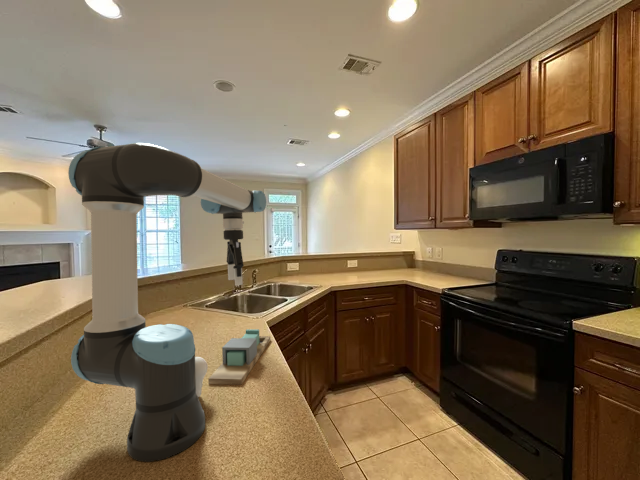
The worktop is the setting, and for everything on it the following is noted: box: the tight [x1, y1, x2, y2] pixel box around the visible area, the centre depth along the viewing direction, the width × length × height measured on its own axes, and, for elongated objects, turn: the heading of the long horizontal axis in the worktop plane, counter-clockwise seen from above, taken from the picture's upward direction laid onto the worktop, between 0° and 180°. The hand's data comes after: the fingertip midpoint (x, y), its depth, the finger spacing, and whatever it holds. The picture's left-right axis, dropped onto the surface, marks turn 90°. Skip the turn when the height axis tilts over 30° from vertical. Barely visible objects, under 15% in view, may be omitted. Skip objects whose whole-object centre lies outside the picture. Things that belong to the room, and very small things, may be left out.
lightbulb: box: [195, 356, 209, 398], centre depth 77 cm, size 6×6×11 cm
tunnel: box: [221, 337, 257, 365], centre depth 96 cm, size 8×9×6 cm
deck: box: [208, 335, 272, 386], centre depth 100 cm, size 34×10×2 cm, turn 176°
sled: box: [227, 328, 260, 366], centre depth 101 cm, size 19×5×5 cm, turn 176°
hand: (235, 282), depth 114 cm, fingers open, 13 cm apart
